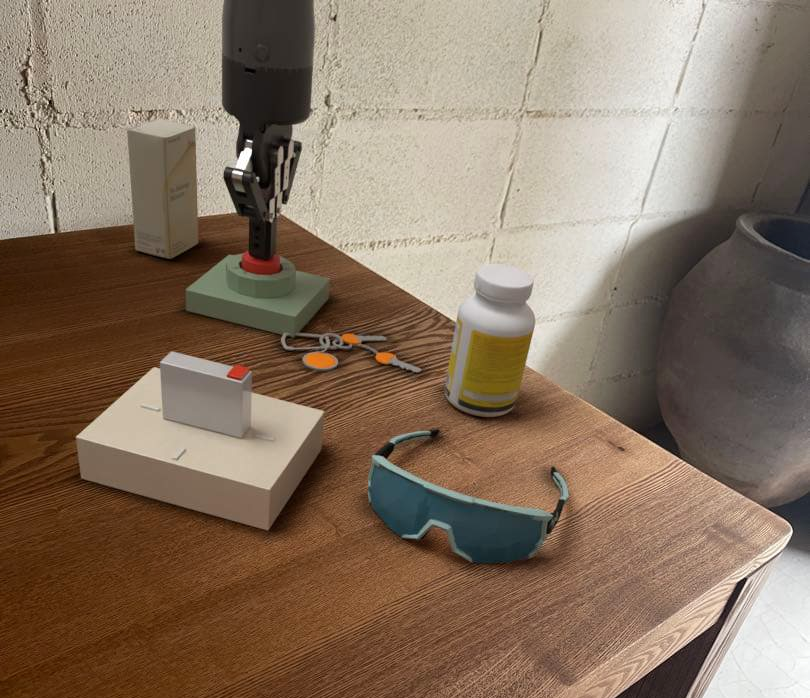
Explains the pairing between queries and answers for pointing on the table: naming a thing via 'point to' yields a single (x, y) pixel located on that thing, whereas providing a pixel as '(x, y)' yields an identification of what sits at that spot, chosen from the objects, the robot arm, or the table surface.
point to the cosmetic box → (163, 187)
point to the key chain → (329, 361)
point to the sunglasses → (457, 512)
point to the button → (260, 264)
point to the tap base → (202, 455)
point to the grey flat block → (206, 394)
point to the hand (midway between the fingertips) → (262, 256)
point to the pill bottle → (491, 342)
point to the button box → (258, 296)
